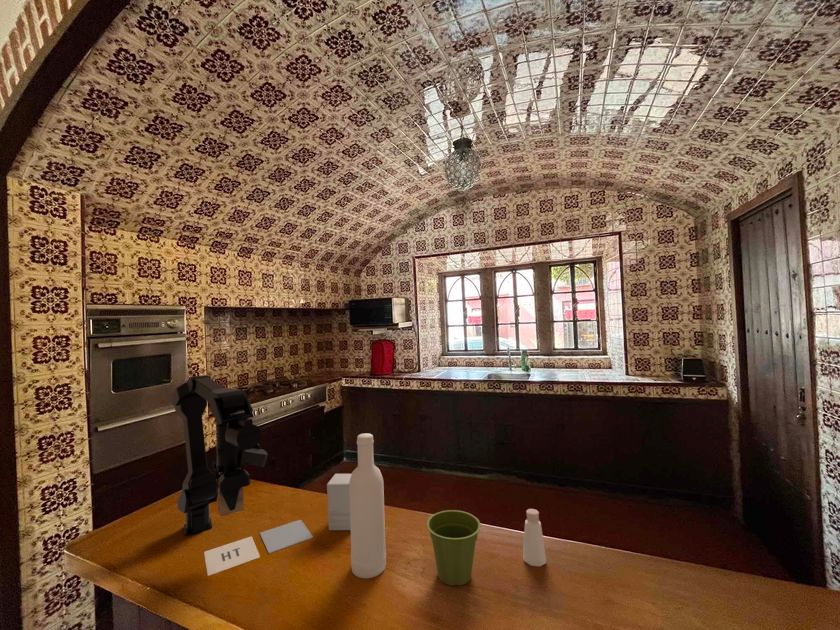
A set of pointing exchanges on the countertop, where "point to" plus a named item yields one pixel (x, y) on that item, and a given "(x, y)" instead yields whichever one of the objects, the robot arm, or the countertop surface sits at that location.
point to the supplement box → (339, 502)
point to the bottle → (367, 513)
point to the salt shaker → (533, 540)
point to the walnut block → (224, 508)
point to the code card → (230, 555)
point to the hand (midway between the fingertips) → (230, 505)
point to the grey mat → (285, 536)
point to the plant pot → (454, 544)
